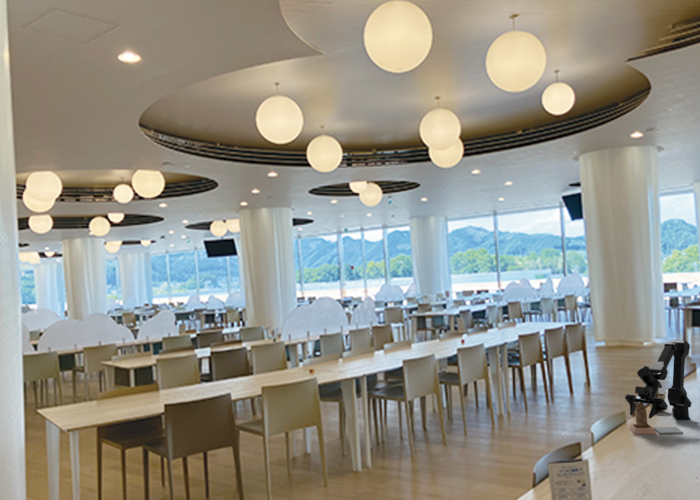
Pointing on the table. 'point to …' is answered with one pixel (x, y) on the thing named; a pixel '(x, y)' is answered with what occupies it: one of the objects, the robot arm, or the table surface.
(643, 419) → the pepper mill
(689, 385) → the table surface
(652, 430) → the pink square tray
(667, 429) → the plate
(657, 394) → the flower pot
